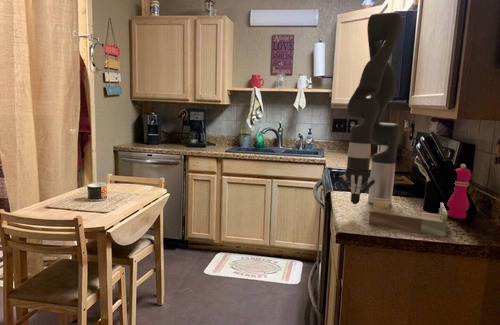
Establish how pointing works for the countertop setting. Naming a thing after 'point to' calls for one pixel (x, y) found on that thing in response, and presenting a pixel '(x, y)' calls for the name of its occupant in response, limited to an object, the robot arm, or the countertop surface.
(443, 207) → the box
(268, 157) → the countertop surface
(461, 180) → the pepper mill
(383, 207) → the maple block
